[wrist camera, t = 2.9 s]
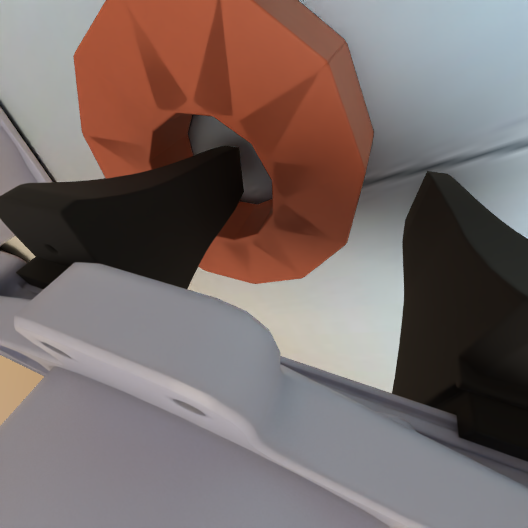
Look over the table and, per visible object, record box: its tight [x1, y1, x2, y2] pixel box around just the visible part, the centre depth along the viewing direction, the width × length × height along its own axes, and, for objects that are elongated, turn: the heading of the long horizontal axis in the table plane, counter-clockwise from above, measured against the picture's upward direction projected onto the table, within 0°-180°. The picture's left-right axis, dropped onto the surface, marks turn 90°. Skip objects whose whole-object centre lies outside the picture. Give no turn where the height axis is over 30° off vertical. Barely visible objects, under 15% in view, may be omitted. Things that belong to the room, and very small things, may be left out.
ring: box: [74, 0, 374, 284], centre depth 11 cm, size 11×11×3 cm
